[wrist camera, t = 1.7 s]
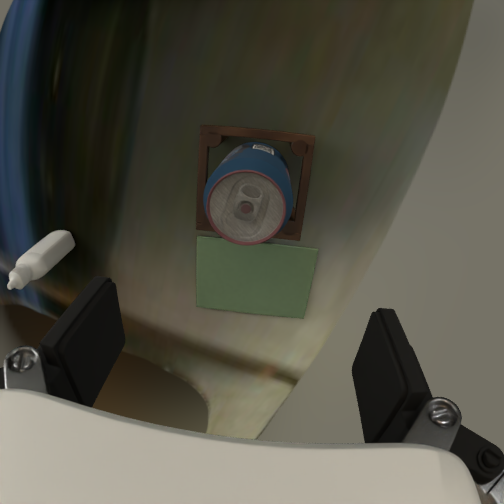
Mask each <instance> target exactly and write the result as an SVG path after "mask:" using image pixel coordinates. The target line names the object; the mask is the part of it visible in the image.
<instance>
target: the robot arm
mask: <svg viewBox="0 0 504 504" xmlns="http://www.w3.org/2000/svg"><path fill="white" fill-rule="evenodd" d="M124 344H125V334H124V329H123V324H122V319H121V313H120V308H119V302H118V296H117V289H116V284H115V283H114V282H112V280H111V279H110V278H107V277H101V276H95V277H94V278H93V279H92V281H91V282H90V283H89V284H88V285H87V286H86V287H85V289H84V290H83V291H82V292H81V293H80V294H79V295H78V297H77V298H76V299H75V300H74V301H73V303H72V304H71V305H70V306H69V307H68V308H67V310H66V311H65V312H64V313H63V314H62V316H61V317H60V318H59V319H58V321H57V322H56V323H55V324H54V326H53V327H52V328H51V329H50V331H49V332H48V333H47V334H46V336H45V337H44V338H43V339H42V341H41V342H40V346H39V347H38V349H36V348H33V347H32V346H20V347H17V348H15V349H13V350H12V351H10V352H9V353H8V354H7V356H6V358H5V360H4V367H3V368H0V504H504V455H503V452H502V451H501V450H500V449H499V448H498V447H497V446H496V445H494V444H493V443H491V442H489V441H488V440H486V439H484V438H482V437H481V436H479V435H477V434H476V433H474V432H473V431H471V430H469V429H468V428H466V427H464V426H463V425H461V419H462V416H461V412H460V410H459V408H458V406H457V405H456V404H455V403H453V402H452V401H451V400H449V399H447V398H444V397H435V398H433V397H432V395H431V392H430V389H429V387H428V384H427V382H426V379H425V377H424V374H423V372H422V369H421V367H420V364H419V362H418V359H417V357H416V355H415V352H414V350H413V348H412V347H411V346H410V344H409V342H408V340H407V338H406V335H405V333H404V330H403V328H402V326H401V324H400V322H399V319H398V317H397V315H396V313H395V311H394V310H393V309H384V308H378V309H377V311H376V312H372V314H371V316H370V320H369V322H368V325H367V328H366V331H365V334H364V336H363V339H362V342H361V344H360V347H359V350H358V352H357V355H356V357H355V360H354V363H353V366H352V376H353V381H354V386H355V390H356V396H357V401H358V406H359V411H360V417H361V423H362V429H363V434H364V440H365V443H362V444H321V443H320V444H319V443H292V442H275V441H263V440H253V439H243V438H234V437H226V436H219V435H212V434H205V433H199V432H193V431H187V430H182V429H176V428H171V427H166V426H161V425H157V424H152V423H148V422H143V421H139V420H135V419H131V418H127V417H123V416H119V415H115V414H112V413H108V412H105V411H101V410H98V409H94V408H92V406H93V404H94V402H95V400H96V398H97V396H98V394H99V392H100V390H101V388H102V386H103V384H104V382H105V381H106V379H107V377H108V375H109V373H110V371H111V369H112V367H113V365H114V363H115V362H116V360H117V358H118V356H119V354H120V352H121V350H122V349H123V347H124Z"/></svg>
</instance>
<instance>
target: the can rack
mask: <svg viewBox="0 0 504 504" xmlns="http://www.w3.org/2000/svg"><path fill="white" fill-rule="evenodd" d="M228 136H236V137H248V138H259V139H268V140H277V141H286V142H289V143H290V147H291V150H292V152H293V153H294V154H295V155H296V156H303V159H302V167H301V174H300V182H299V189H298V196H297V203H296V210H295V209H294V207H293V208H292V213H291V216H290V218H289V220H288V222H287V224H286V225H285V227H284V228H283V229H282V230H281V231H280V232H279V233H278V234H276V235H275V236H273V237H272V238H279V239H288V240H296V241H300V237H301V231H302V225H303V218H304V212H305V206H306V199H307V192H308V186H309V179H310V172H311V165H312V158H313V150H314V143H315V136H313V135H306V134H299V133H291V132H283V131H274V130H264V129H254V128H243V127H230V126H215V125H201V126H200V140H199V159H198V182H197V212H196V230H205V231H214V232H216V231H215V230H214V229H213V227H212V226H211V224H210V222H209V220H208V218H207V216H206V213H205V210H204V204H203V195H204V189H205V186H206V183H207V178H208V159H209V147H211V148H215V147H217V146H219V145H220V144H221V143H222V142H223V141H225V140H226V139H227V138H228Z"/></svg>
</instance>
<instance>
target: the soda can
mask: <svg viewBox="0 0 504 504" xmlns="http://www.w3.org/2000/svg"><path fill="white" fill-rule="evenodd" d="M203 204H204V210H205V213H206V216H207V218H208V220H209V222H210V224H211V226H212V227H213V229H214V230H215V231H216V232H217V233H218V234H219V235H220V236H221V237H222V238H224V239H225V240H227V241H229V242H231V243H234V244H238V245H245V246H250V245H257V244H260V243H263V242H265V241H267V240H269V239H270V238H272V237H273V236H275V235H276V234H278V233H279V232H280V231H281V230H282V229H283V228H284V227H285V225H286V224H287V222H288V220H289V218H290V216H291V213H292V208H293V194H292V188H291V182H290V176H289V170H288V166H287V163H286V161H285V159H284V158H283V156H282V155H281V154H280V153H279V152H278V151H277V150H276V149H275V148H273V147H271V146H269V145H267V144H264V143H260V142H249V143H245V144H242V145H239V146H237V147H236V148H234V149H233V150H232V151H231V152H230V153H229V154H228V155H227V156H226V157H225V159H224V160H223V161H222V162H221V164H220V165H219V166H218V167H217V169H216V170H215V171H214V172H213V174H212V175H211V176H210V178H209V179H208V181H207V183H206V186H205V189H204V195H203Z"/></svg>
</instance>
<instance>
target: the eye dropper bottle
mask: <svg viewBox="0 0 504 504" xmlns="http://www.w3.org/2000/svg"><path fill="white" fill-rule="evenodd" d="M74 247H75V242H74V239H73V237H72V235H71V233H70V232H69V231H65V230H57V231H54V232H52V233H50V234H48V235H47V236H46V237H45V238H43V239H42V240H41V241H39V242H38V243H37V244H36V245H34V246H33V247H32V248H31V249H29V250H28V251H27V252H26V253H25V254H23V255H22V256H21V257H20V258H19V259H18V260H17V262H16V268H14V269H13V270H12V271H11V272H10V273H9V279H10V281H9V283H8V284H7V287H8V289H10V290H11V289H12V288H14V287H15V288H17V289H22V288H23V287H24V286H25V285H26V284H27V283H28V282H29V281H30V280H36V279H39V278H41V277H42V276H44V275H45V274H46V273H47V272H48V271H49V270H50V269H51V268H52V267H53V266H55V265H56V264H57V263H58V262H59V261H60V260H61V259H62V258H63V257H64V256H65V255H66V254H67V253H69V252H70V251H71V250H72V249H73V248H74Z"/></svg>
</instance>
